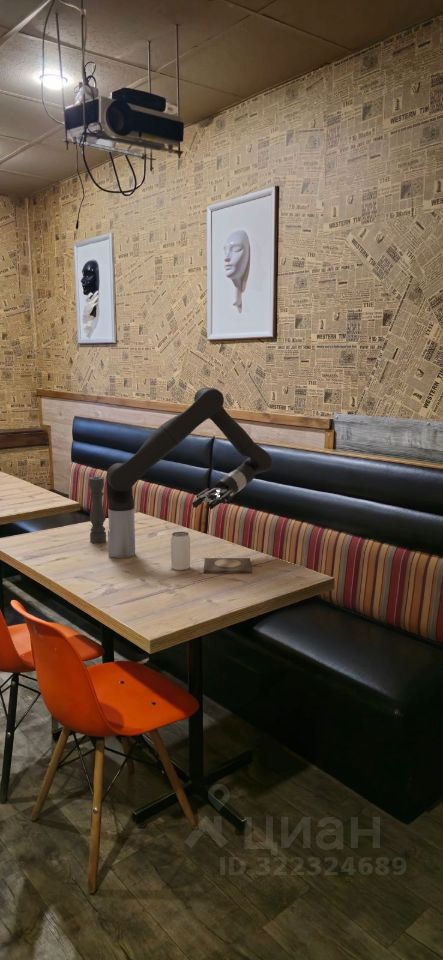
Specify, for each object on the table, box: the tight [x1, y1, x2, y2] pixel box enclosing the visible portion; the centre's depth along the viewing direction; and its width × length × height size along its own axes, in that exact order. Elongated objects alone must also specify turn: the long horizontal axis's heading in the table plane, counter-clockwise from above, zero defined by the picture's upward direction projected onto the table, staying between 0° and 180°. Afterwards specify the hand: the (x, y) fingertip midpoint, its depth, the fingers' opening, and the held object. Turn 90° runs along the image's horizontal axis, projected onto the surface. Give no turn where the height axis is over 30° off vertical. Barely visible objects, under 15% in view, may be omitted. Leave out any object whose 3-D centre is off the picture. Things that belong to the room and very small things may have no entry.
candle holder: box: [88, 476, 107, 544], centre depth 258 cm, size 6×6×25 cm
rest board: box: [203, 557, 253, 574], centre depth 229 cm, size 16×14×1 cm
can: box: [170, 531, 191, 571], centre depth 227 cm, size 6×6×12 cm
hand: (201, 506), depth 234 cm, fingers open, 8 cm apart
